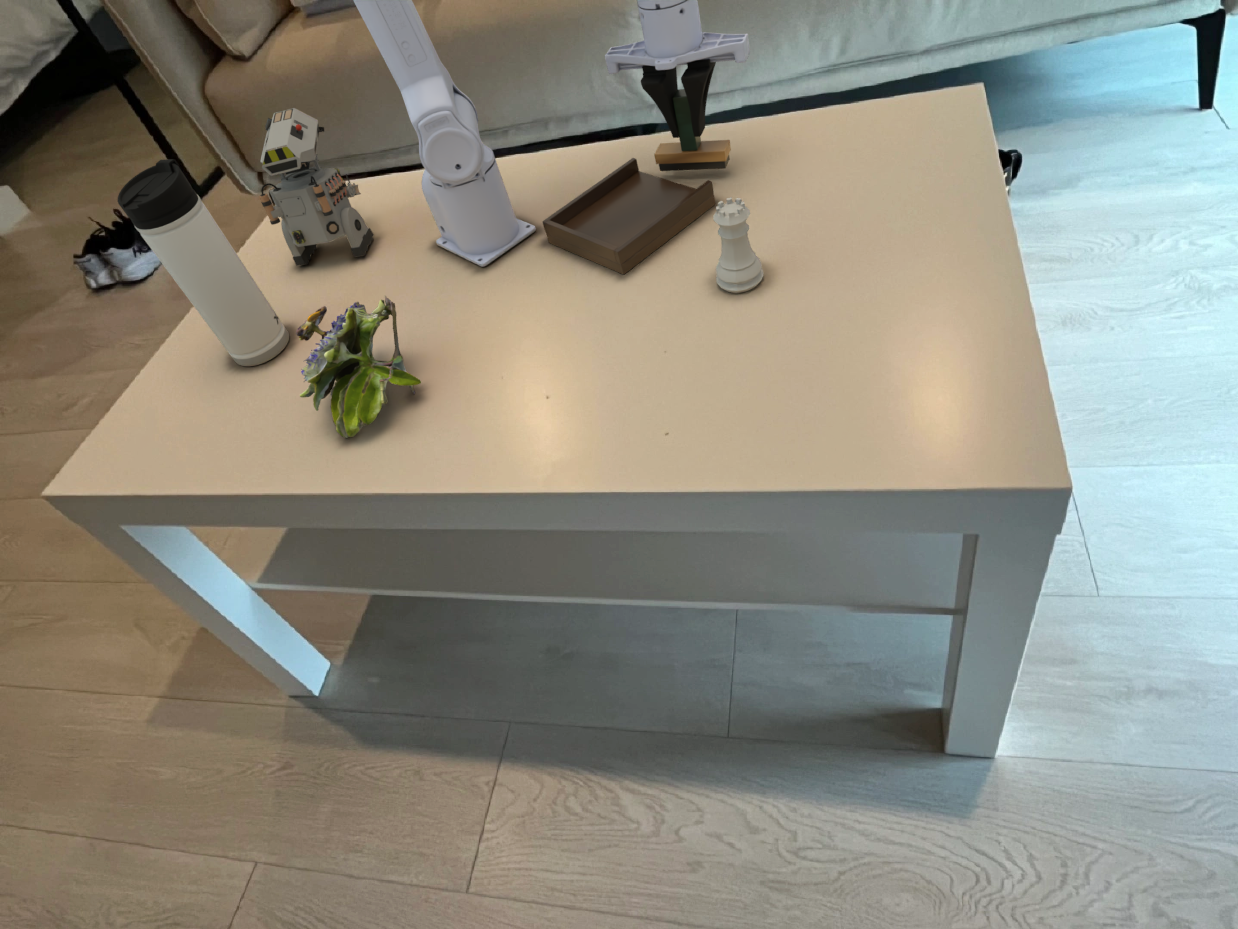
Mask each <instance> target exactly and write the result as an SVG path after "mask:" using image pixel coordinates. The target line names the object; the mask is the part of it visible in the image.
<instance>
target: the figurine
mask: <svg viewBox="0 0 1238 929" xmlns="http://www.w3.org/2000/svg"><path fill="white" fill-rule="evenodd" d="M264 129H265V131H266V134H265V138H264V142H263V148H262V151H261V156H260V161H259V162H260V163H261V164H262V166H261V169H262V170H263V171H264V172H266V173H267V174H268V175H269V176H271V177H272V176H276V175H279V176H280V180H279V181H278V183H277V184H276V185H275V184H274V183H273V184H272V183H268V182H267V183H265V184H263V185H262V187H261V191H260V192H261V194H260V195H259V196H258V199H259V200H260V202H261V205H262V207H263V208H264V211H265V212H266V216H267V217H268V219H269V222H270V224H271V225H273V226H274V225H277V224H279V223H280V222H281V223H280V225H281V231H282V234H283V238H284V240H285V243H286V246H287V247H288V249H289V251H290V252H291V254H292V260H293V261H294V264H295V266H296V267H297V266H304V265H309V261H311V260H312V257H311V256H312V255H314V254H315V251H317V250H318V247H317V246H318V245H319V244H327V243H330V242H333V241H336V240H338V239H340V238H343V237H346V239H347V241H348V243H349V245H350V251H351V253H352V256H353V258H357V257H363V256H364V257H365V256H366V255H367V252H368V251H369V248H368V247H369V246H371V245H372V242H374V236H375V234H374V232H373V231H372V229H371V228H370V227H369V226H368V225H367V223H366V222H365V220H364V218H363V216H362V215H361V214H360V212H359V211H358V210H357V209H356V208H354V207H353V206H352V205H351V202H350V200H349V198H354V197H355V196H359V195H362V193H361V192H360V190H359V184H356V183H355V182H351V181H350V178H349V176H348V174H345V177H346V179H347V183H346V180H344V178H343V177H342V175H341V171H340V169H339V168H337V167H335V168H333V167H326V168H322V166H320V164H319V161H320V159H319V157H318V153H317V150H318V143H319V135H320V133H324V132H325V127H324V126H319V120H318V119H316V118H315V117H312V116H311V115H309V114H308V113H305V112H303V111H301V110H300V109H297V108H295V107H293V108H288V109H285V110H281V111H277V112H274V113H273V114H272V118H270V117H267V120H266V123H265V128H264ZM311 163H313V164H314V166H310V164H311ZM267 186H272V187H270V188H269V191H268V192H269V195H270V196H271V198H272V201H273V203H274V205H275V206H273V203H272V201H271V199H270V197H269V195H268V193H264V189H265V187H267ZM280 218H281V219H280Z"/></svg>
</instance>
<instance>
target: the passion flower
mask: <svg viewBox="0 0 1238 929" xmlns="http://www.w3.org/2000/svg"><path fill="white" fill-rule="evenodd" d="M327 312H328V308H327V306H326V305H323V306H321V307H320V308H319V309H317V310H316V311H315V312H313V313H311V314H310V315H309V316H308V317H307V319H306V320H305V321H304V323H302V324H301V325H300V326H299V327H298V328H297V329H296V331H295V332H296V333H295V335H296V336H297V337H298V338H299V339H298V340H299V341H306V342H307V341H309V340H310V339H311V338H312V337H313V336H314V334H315V333H317V334H318V335H320V336H321V339H319V342H318V343H317V342H316V343H315V345H316V346H317V347H316V348H314V349H311V352H310V353H309V356H308V357H307V358H306V359H304V360H303V363H306V365H305V366H304V367H303V368H301V369H300V370H301V371H300V373H301V375H302V376H304V377H303V380H304V381H303V383H305V382H307V383H309V384H308V387H307V388H306V390H305V391H302V393H300V394H299V397H300V398H309V397H312V395H313V398H312V402H313V408H314V410H315V411H317V412H318V411H319V408H320V405H321V401H322V400H323V399H326V397H327V396H328V395H329V394H330V412H331V417H332V419H333V424H334V425H335V430H336V433H337V434H339V436H341V437H343V438H345V439H349V438H353V437H355V436H356V435H357V434H358V433H359V432H360V431H361V430H362V428H363V427H364V426H370V425H371V424H373V423H374V421H375V420H376V419H377V417H378V416H379V414H380V412H381V410H382V408H383V405H387V404H388V397H387V383H388V382H389V383H390V384H392V385H395V386H396V385H397V386H399V387H408V388H409V389H410V392H411V393H412V394H413V395H415V394H416V391H415V390H414V386H418V385H421V384H422V380H421V379H419V378H418V377H417V376H416V375H413V374H411V373H410V372H408V371H407V369H406V366H405V362H404V356H403V355H402V353H401V350H400V344H399V336H398V335H399V334H398V326H397V325H398V324H397V311H396V304H395V302H394V301H391V299H389V298H388V297H387V295H384V299H380V300H379V302H378V305H377V307H376V308H375V309H373V311H371V313H367V310H366V306H365V305H364V304H361V303H360V302H359V301H355V302H353V304H352V305H349V307H346V308H345V311H344V312H343V314H342V313H340V314H339V315H336V320H333V321H332V322H331V323H330V325H331V328H330V329H329V330H327V331H325V330H323V329H321V328H320V326H319V325H320V324H321V323H322V322H323V319H324V317H325V315H326V314H327ZM390 316H392V317H391V318H392V332H393V344H394V351H393V354H392V356H391V359H389V360H378V359H376V358H375V357H374V354H373V350H374V336H375V334H376V332H377V331H378V328H380V325H381V323H382V322H384V321H387V320H389V319H390Z"/></svg>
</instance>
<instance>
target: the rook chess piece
mask: <svg viewBox="0 0 1238 929" xmlns="http://www.w3.org/2000/svg"><path fill="white" fill-rule="evenodd" d="M725 200H726V203H725V202H724V201H723V200H720V201H719V202H717V206H715V212H714V214H713V216H712V219H713V222H715V223H716V224H717V225H718V226H719V228H718V230H717V235H718V236H719V237H720V240H721V241H720V242H721V245H720V246H721V252H720V256H719V258H718V262H717V264H716V266H715V275H716V277H715V278H716V279H715V281H716V284H717V285H718V287H720V288H721V289H722V290H724V291H726V292H729V293H733V294H740V293H745V292H749V291H750V290H753V289H755V287H757V286H758V285H759V284H760V283H761V281H762V280H763V277H764V269H763V265H762V261H761V259H760V257H759V256H758V255H757V254H756V252H755V251H754V250H753V249H752V246H751V242H750V240H749V233H748V232H749V230H750V225H749V224H748V222H747V220H748V219H749V217H750V215H751V211H750V208H748V206H746V204H745V200H743V199H742V198H740V197H736V198H735V201H733V196H732V197H731V196H730V197H727V198H725ZM742 200H743V201H742Z"/></svg>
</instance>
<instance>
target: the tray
mask: <svg viewBox="0 0 1238 929" xmlns="http://www.w3.org/2000/svg"><path fill="white" fill-rule="evenodd" d="M714 191H715V190H714V184H713V180H706V181H705V182H704V183H702V184H701V185H700V186H698V187H696V188H695V187H692V186H689V185H685V184H682V183H679V182H675V181H673V180H669V179H666V178H663V177H659V176H657V175H653V174H649V173H647V172H643V171H642V170H641V171H640V168H639V164H638V160H637V158H636V157H631V158H630V159H629V160H628V161H625V163H623V164H622V165H621V166H619V167H617V168H616V169H615V170H613V171H612V172H611V173H608V174H607V175H606V176H605V177H603V178H602V179H600V180H598V182H596V183H595V184H593V185H591V187H589V188H587V189H586V190H585V191H583V192H582V193H580V194H579V195H577V196H575V197H574V198H573V199H572V200H570V201H569V202H567V203H565V205H563V206H562V207H560V208H559V209H558V210H556V211H555V212H554V213H552V214H551V215H549V216H548V217H546V218H544V219H543V220H542V221H541V222H542V225H543V229H544V232H545V236H546V238H547V241H548V244H551V245H553V246H555V247H558V248H560V249H563V250H564V251H568V252H569V253H571V254H574V255H577V256H579V257H582V258H584V259H586V260H588V261H591V262H593V263H596V264H597V265H601V266H603V267H605V268H607V269H610V270H611V271H614V272H616V273H619V274H620V275H621V274H622V275H626V273H628V272H629V271H630V270H632V269H633V268H635V267H636V266H637V265H639V263H641V262H643V261H644V260H645V259H647V257H649V256H650V255H652V254H653V253H654V252H655V251H657V250H658V249H659V248H660V247H663V245H664V244H666V243H667V242H668V241H670V240H671V239H672V238H673V237H675V236H677V235H678V234H679V233H680V232H681V231H682V230H684V229H685V228H686V227H688V226H689V225H690V224H691V223H693V222H695V220H697V219H698V218H699V217H701V216H702V215H703V214H705V213H706V212H707V211H709V210H710V209H711V208H712V207H714V206H715V205H716V198H715V192H714Z"/></svg>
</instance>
